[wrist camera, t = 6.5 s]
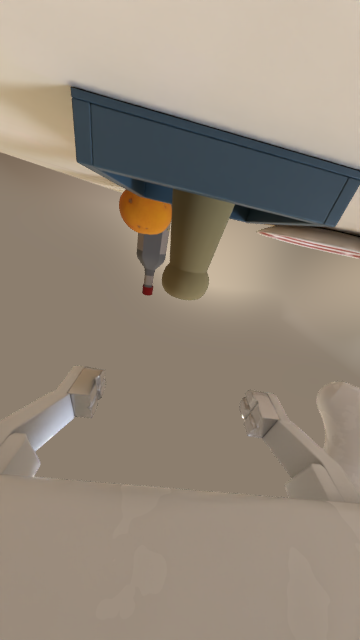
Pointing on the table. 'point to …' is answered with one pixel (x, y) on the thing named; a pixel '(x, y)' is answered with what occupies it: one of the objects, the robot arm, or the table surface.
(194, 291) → the cork
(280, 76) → the table surface
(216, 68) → the table surface
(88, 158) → the bin
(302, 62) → the table surface
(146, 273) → the liquor
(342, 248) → the dinner plate
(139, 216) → the fruit
